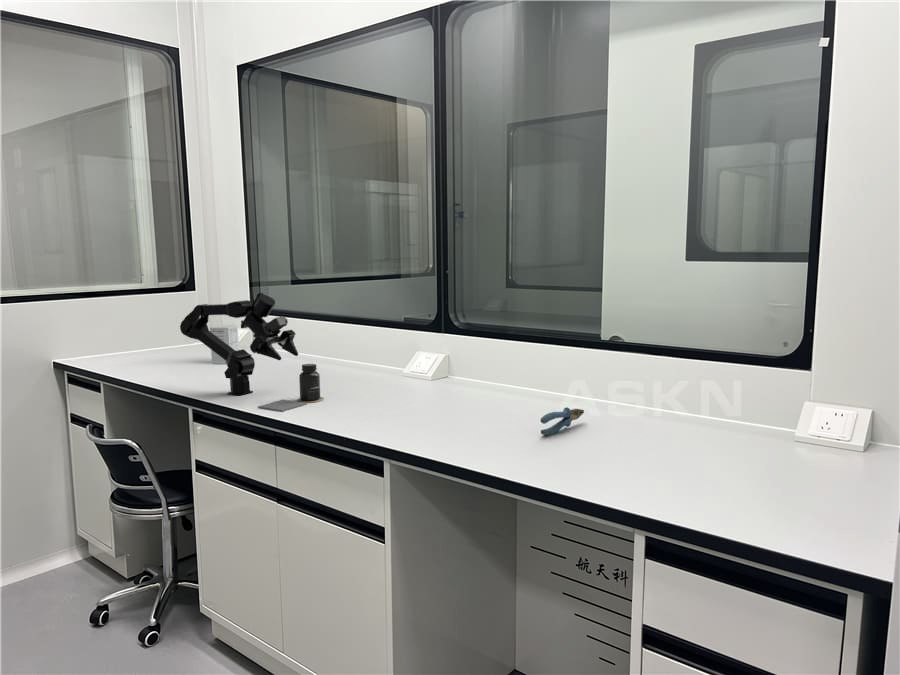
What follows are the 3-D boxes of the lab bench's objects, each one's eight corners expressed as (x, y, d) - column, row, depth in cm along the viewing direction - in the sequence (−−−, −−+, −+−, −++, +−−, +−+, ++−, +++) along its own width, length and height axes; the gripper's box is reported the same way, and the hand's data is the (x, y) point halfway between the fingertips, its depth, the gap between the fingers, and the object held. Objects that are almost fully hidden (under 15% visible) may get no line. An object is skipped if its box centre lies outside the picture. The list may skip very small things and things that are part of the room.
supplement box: (221, 360, 312) (219, 324, 310) (240, 360, 311) (238, 324, 308) (211, 364, 302) (209, 327, 300) (230, 364, 301) (228, 327, 299)
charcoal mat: (258, 407, 218) (257, 406, 218) (282, 400, 227) (282, 399, 227) (282, 411, 212) (282, 410, 212) (306, 404, 222) (306, 403, 222)
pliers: (579, 421, 195) (579, 401, 194) (585, 422, 194) (586, 402, 193) (538, 436, 181) (538, 415, 180) (544, 437, 179) (545, 416, 179)
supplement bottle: (315, 401, 224) (314, 366, 222) (296, 401, 225) (295, 366, 224) (323, 397, 231) (322, 363, 229) (305, 396, 232) (303, 362, 230)
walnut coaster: (291, 401, 227) (291, 400, 227) (309, 395, 234) (309, 395, 234) (311, 404, 222) (311, 403, 222) (329, 398, 230) (329, 398, 230)
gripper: (252, 312, 221) (283, 343, 217) (287, 307, 238) (317, 336, 234) (236, 337, 225) (267, 368, 221) (272, 330, 242) (301, 359, 238)
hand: (289, 357), depth 229 cm, fingers open, 9 cm apart
